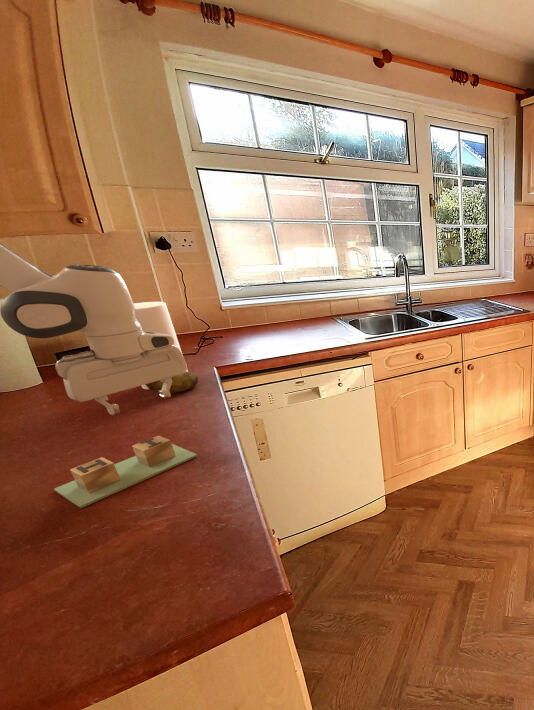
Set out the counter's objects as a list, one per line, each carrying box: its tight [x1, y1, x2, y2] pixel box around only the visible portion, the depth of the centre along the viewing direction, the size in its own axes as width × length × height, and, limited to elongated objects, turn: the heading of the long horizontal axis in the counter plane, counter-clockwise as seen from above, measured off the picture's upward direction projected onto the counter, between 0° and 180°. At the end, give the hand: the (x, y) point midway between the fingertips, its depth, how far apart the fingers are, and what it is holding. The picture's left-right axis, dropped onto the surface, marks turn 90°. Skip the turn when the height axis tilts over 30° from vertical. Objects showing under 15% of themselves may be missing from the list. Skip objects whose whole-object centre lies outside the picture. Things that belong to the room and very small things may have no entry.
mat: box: [53, 443, 198, 509], centre depth 88 cm, size 20×12×1 cm, turn 152°
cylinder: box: [133, 301, 189, 391], centre depth 132 cm, size 12×12×25 cm
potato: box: [145, 371, 200, 394], centre depth 128 cm, size 8×13×8 cm, turn 130°
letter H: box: [69, 456, 121, 493], centre depth 83 cm, size 5×5×4 cm
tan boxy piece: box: [131, 435, 176, 467], centre depth 91 cm, size 5×5×4 cm
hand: (141, 404), depth 93 cm, fingers open, 8 cm apart
